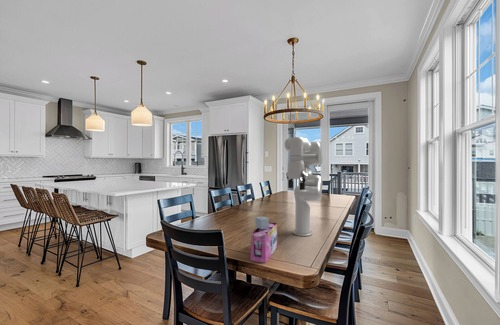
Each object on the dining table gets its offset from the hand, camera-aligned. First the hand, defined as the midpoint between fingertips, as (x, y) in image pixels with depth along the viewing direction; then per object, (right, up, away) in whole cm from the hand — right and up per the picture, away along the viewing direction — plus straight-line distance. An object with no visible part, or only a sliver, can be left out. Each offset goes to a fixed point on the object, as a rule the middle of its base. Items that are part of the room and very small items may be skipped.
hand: (296, 188), depth 137 cm
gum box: (-19, -33, -12) cm, 40 cm away
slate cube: (-20, -19, -12) cm, 30 cm away
